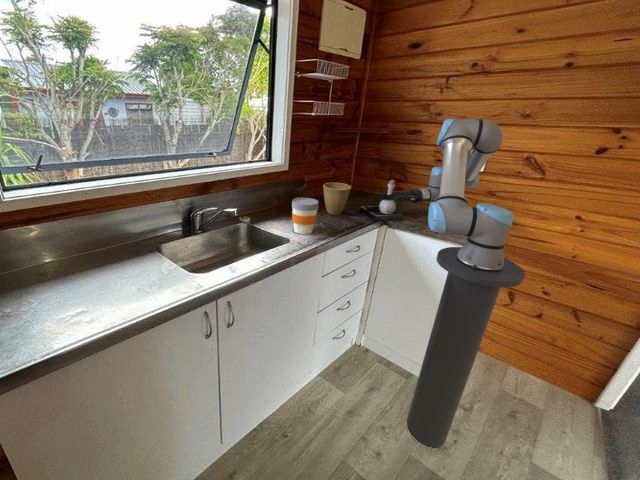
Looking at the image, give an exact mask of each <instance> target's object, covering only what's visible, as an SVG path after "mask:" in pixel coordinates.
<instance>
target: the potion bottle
mask: <svg viewBox="0 0 640 480" xmlns="http://www.w3.org/2000/svg"><path fill="white" fill-rule="evenodd" d="M395 187H396V184H395V180H394V179H391V180H389V182H388V183H387V193H388V194H387V195H392V192H393V189H394V188H395ZM396 203H397V202H396V200H393V199H392V200H380V202H379V205H378V206H379V209H380V211H379V212H380V213H381V214H384V215H393V214H394V212H395V211H396V209H397V204H396Z"/></svg>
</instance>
